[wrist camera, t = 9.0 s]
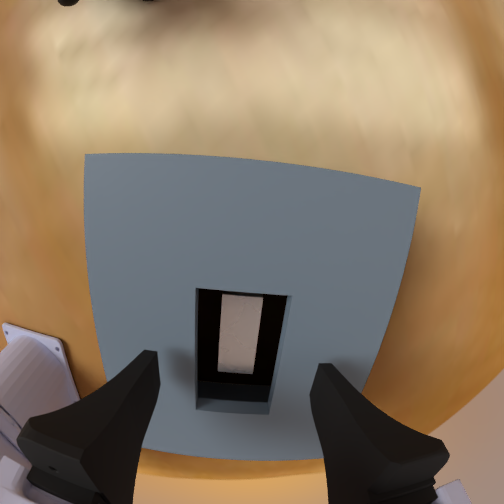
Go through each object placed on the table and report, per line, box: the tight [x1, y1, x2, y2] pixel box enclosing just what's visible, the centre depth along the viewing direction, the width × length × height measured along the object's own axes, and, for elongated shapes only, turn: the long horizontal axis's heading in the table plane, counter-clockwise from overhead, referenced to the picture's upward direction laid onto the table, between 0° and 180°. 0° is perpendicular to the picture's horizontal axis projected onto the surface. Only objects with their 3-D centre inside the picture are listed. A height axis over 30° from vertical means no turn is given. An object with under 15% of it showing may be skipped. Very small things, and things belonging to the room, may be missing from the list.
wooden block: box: [218, 290, 263, 374], centre depth 17 cm, size 5×2×5 cm, turn 174°
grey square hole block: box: [84, 153, 421, 461], centre depth 16 cm, size 18×14×7 cm
